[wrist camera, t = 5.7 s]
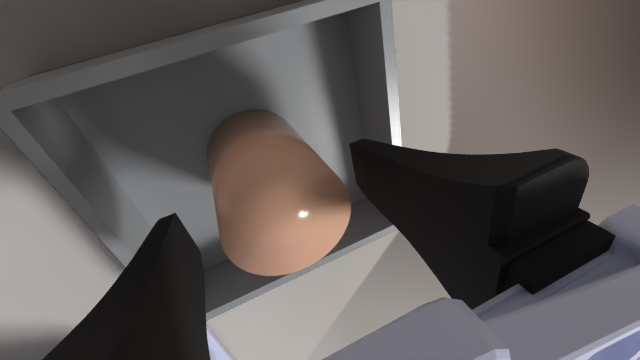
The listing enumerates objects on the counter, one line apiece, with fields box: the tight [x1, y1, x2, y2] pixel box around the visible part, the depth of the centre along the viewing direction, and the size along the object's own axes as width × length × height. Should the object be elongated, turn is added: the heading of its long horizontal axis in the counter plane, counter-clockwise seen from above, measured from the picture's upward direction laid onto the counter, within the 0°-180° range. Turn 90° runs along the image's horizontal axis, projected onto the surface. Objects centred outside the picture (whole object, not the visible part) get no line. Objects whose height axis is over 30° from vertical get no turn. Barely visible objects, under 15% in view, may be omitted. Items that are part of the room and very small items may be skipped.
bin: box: [0, 0, 402, 321], centre depth 14 cm, size 13×12×4 cm
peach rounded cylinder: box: [207, 109, 351, 276], centre depth 13 cm, size 5×5×6 cm
